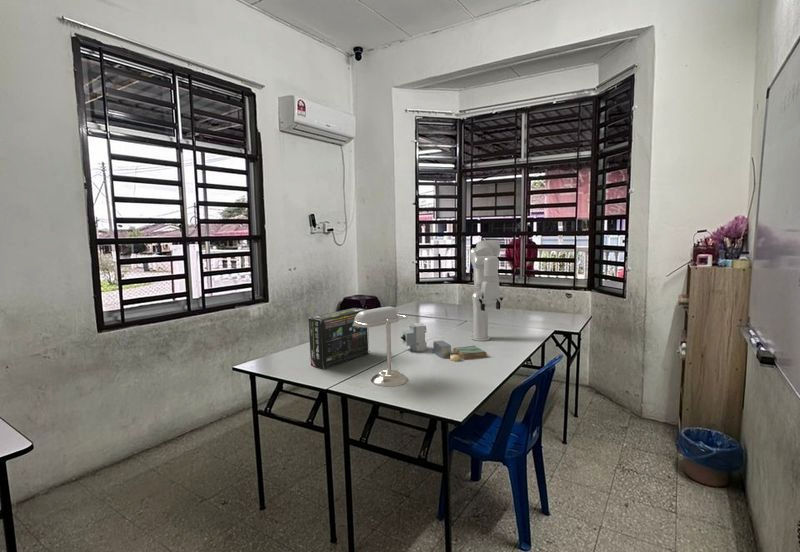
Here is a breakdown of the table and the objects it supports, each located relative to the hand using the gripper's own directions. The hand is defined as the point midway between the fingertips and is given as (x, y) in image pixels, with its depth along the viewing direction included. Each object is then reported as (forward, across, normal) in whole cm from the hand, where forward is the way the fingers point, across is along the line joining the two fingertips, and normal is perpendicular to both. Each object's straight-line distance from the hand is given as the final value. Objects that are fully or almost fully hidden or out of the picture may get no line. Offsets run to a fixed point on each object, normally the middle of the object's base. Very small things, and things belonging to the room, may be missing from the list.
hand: (490, 309), depth 232 cm
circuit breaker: (+27, +35, -30) cm, 53 cm away
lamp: (+27, +65, +10) cm, 72 cm away
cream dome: (+27, +21, -3) cm, 34 cm away
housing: (+27, +23, -14) cm, 38 cm away
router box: (+27, +80, -27) cm, 89 cm away
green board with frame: (+27, +8, -8) cm, 29 cm away
